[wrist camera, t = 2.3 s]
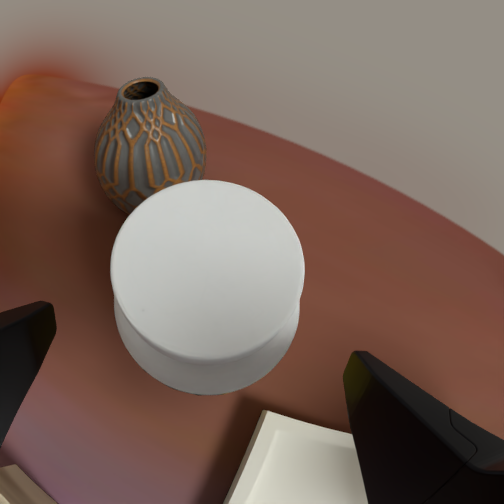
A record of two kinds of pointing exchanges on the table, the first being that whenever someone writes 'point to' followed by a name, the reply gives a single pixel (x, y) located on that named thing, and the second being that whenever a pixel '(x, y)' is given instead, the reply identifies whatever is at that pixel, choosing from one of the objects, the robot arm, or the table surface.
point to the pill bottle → (207, 286)
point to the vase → (147, 144)
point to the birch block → (20, 488)
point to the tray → (297, 465)
